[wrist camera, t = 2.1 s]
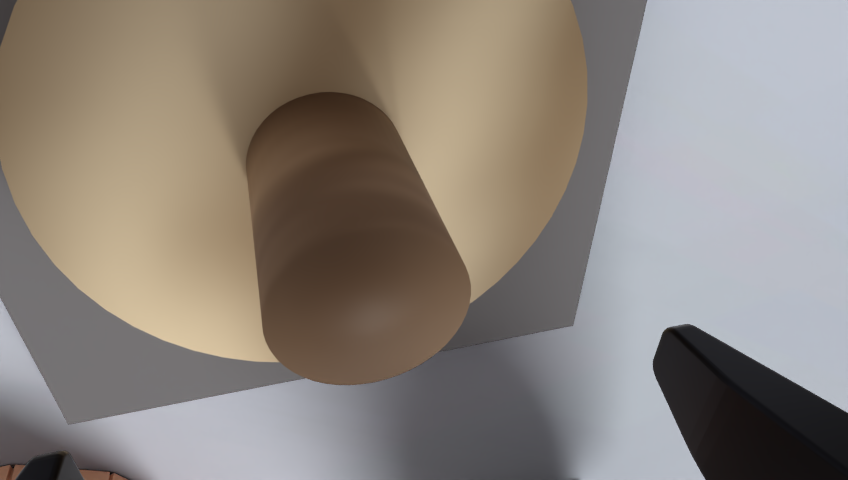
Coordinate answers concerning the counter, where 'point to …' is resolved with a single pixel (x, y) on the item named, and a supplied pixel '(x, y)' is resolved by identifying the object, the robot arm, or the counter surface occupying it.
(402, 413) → the counter surface
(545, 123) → the lid
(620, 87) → the mat
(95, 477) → the bowl
